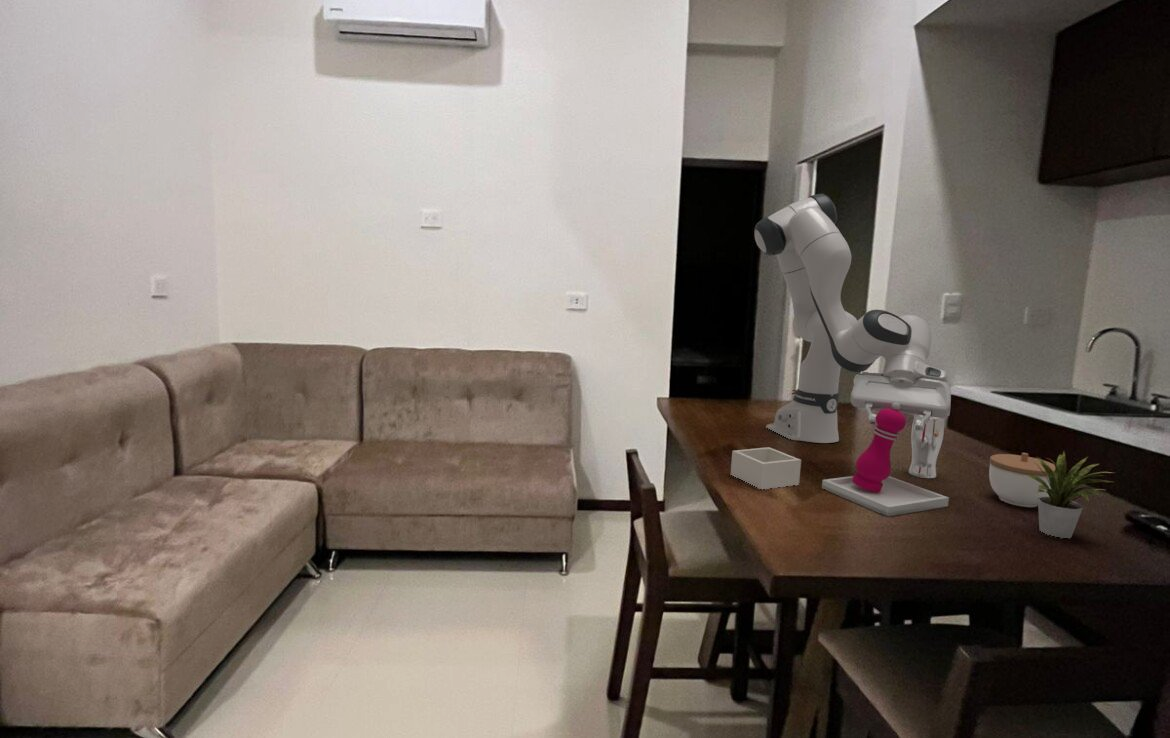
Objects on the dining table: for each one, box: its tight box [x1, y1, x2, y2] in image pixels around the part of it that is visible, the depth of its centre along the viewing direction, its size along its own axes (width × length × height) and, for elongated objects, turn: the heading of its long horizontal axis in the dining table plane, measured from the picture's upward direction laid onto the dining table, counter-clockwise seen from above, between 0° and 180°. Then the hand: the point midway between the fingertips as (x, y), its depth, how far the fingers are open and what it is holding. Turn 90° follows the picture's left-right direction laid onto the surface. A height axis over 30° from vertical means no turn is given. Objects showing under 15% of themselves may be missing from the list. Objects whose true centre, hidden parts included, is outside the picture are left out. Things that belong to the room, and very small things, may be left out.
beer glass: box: [908, 414, 945, 479], centre depth 160 cm, size 7×7×15 cm
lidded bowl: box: [988, 452, 1055, 508], centre depth 143 cm, size 13×13×11 cm
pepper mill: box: [852, 403, 907, 492], centre depth 143 cm, size 7×7×20 cm
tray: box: [821, 475, 950, 518], centre depth 143 cm, size 18×18×2 cm
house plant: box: [1027, 450, 1115, 539], centre depth 124 cm, size 14×14×16 cm
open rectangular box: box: [730, 446, 802, 491], centre depth 151 cm, size 11×11×6 cm
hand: (894, 425), depth 142 cm, fingers open, 8 cm apart
